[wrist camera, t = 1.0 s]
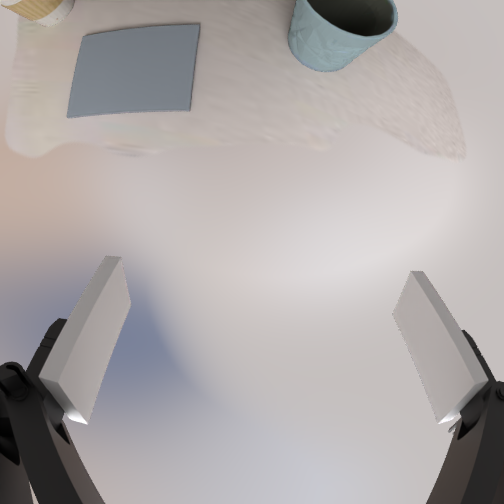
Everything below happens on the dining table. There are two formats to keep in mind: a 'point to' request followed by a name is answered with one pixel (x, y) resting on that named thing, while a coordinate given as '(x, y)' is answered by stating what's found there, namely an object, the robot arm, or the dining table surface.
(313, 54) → the embossed teal cup
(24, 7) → the coffee cup
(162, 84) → the slate mat
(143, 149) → the dining table surface
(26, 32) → the dining table surface
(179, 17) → the dining table surface
